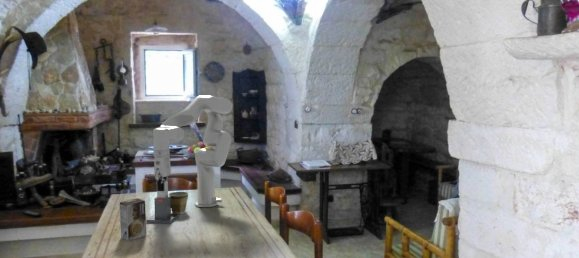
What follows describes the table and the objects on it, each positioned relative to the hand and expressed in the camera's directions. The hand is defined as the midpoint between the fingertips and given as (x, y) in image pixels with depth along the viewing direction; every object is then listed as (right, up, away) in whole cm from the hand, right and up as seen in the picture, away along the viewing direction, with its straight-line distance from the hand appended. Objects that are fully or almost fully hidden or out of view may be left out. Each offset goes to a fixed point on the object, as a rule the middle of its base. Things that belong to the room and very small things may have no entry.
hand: (162, 189), depth 225 cm
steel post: (0, -11, +1) cm, 11 cm away
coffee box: (-6, -18, -24) cm, 30 cm away
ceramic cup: (+4, -14, +15) cm, 21 cm away
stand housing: (0, -15, +2) cm, 15 cm away
